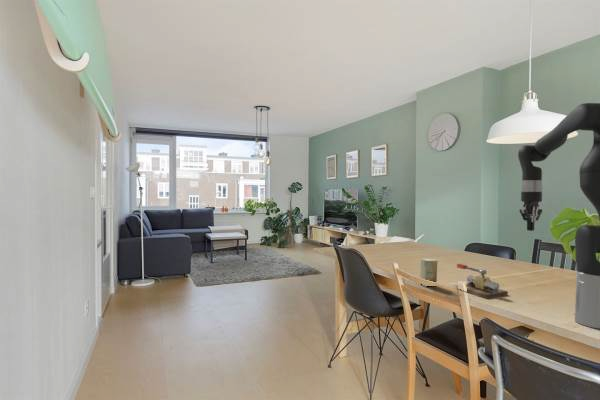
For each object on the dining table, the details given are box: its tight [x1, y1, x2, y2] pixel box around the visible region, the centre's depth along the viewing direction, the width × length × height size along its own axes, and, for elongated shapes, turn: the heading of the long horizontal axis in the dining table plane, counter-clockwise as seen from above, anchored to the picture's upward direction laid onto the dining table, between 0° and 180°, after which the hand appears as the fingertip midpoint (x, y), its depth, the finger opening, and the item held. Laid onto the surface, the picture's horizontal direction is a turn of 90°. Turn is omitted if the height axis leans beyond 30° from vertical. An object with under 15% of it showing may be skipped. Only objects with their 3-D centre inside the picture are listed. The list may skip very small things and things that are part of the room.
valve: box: [466, 274, 500, 294], centre depth 145 cm, size 13×4×7 cm, turn 24°
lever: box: [456, 263, 487, 275], centre depth 150 cm, size 14×3×2 cm, turn 22°
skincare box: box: [419, 258, 438, 288], centre depth 155 cm, size 6×4×12 cm
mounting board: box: [465, 284, 509, 299], centre depth 146 cm, size 14×14×2 cm
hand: (530, 230), depth 146 cm, fingers closed
